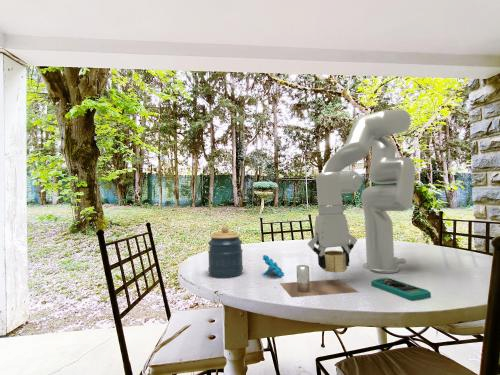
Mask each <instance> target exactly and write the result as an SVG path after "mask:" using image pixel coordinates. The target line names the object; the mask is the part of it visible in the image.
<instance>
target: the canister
mask: <svg viewBox="0 0 500 375" xmlns="http://www.w3.org/2000/svg"><path fill="white" fill-rule="evenodd" d="M240 237H241V235H240V233H237V232H236V231H234V230H232V231H230V230H229V227H227V226H225V225H224V226H222V227H221V231H216V232H213V234H211V235H210V240H209V241H208V242H207V244H208V245H209V247H208V248H209V249H208V251H207V253H208V267H207V268H208V274H209V276H211V277H214V278H223V279H225V278H226V279H227V278H234V277H237V276H240V275H242V274H243V270H244V265H243V252H244V250H243V249H242V244H243V240H241V239H240Z"/></svg>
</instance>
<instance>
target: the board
mask: <svg viewBox="0 0 500 375" xmlns="http://www.w3.org/2000/svg"><path fill="white" fill-rule="evenodd" d="M309 283H310V291H309V292H307V293H301V292H298V291H297V281H296V282H295V281H292V282H280V283H279V285H280V286H281V287H282V288H283V290H284V291H286V293H287V294H288V296H290V297H291V298H299V297H300V298H302V297H312V296H327V295H338V294H350V293H351V294H352V293H360V291H359V290H357V289H355V288H353V287H352V286H350V285H348V284H347V283H346V282H344V281H342V280H341V279H339V278H337V279H336V278H335V279H324V280H323V279H321V280H309Z"/></svg>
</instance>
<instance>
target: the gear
mask: <svg viewBox="0 0 500 375" xmlns="http://www.w3.org/2000/svg"><path fill="white" fill-rule="evenodd" d="M262 260H263V261H264V263H265V265H266V266H267V265H268V269H267V270H265V271H264V273H263V274H262V275H263V276H267V275H268V274H270V272H273V273H274V274H275V275H277V276H278V277H280V278H282V277H284V276H285V275H284V274H285V273H284V272H283V270H282V268H281V267H280V266H278V265H279V264H278V263H277V261H274V260H273V259H272V258H270V256H268V255H265V254H264V255H262Z"/></svg>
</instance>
